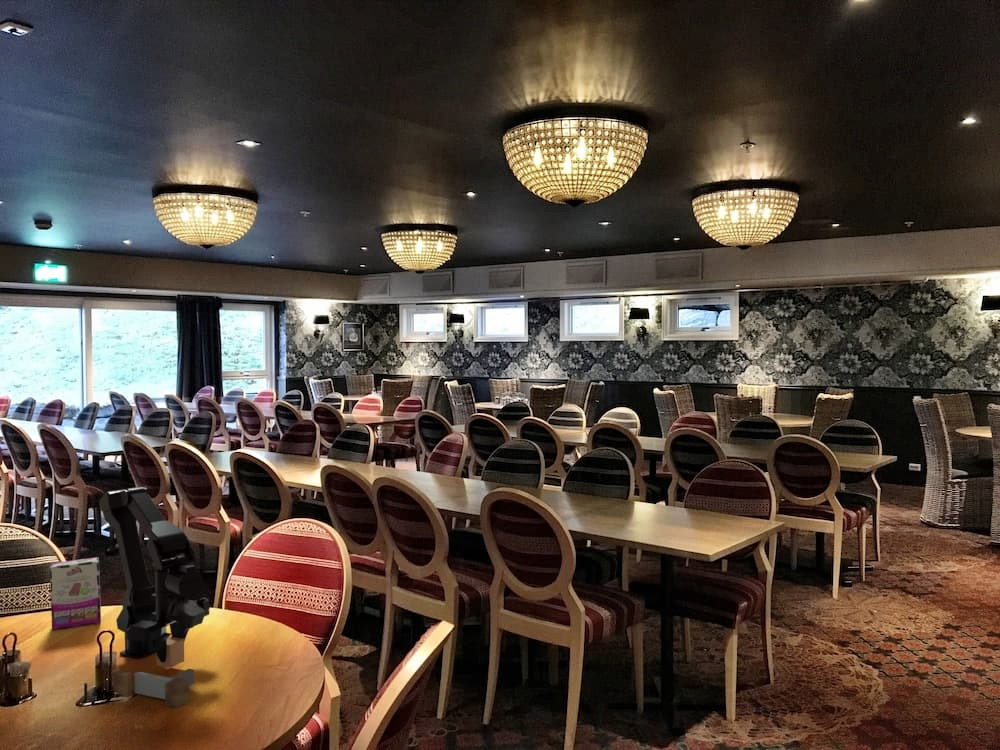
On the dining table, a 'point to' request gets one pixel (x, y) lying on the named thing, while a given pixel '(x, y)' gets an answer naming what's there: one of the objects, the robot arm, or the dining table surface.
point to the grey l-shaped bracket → (158, 683)
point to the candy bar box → (75, 593)
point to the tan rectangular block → (173, 652)
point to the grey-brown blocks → (173, 689)
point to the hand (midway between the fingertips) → (170, 658)
